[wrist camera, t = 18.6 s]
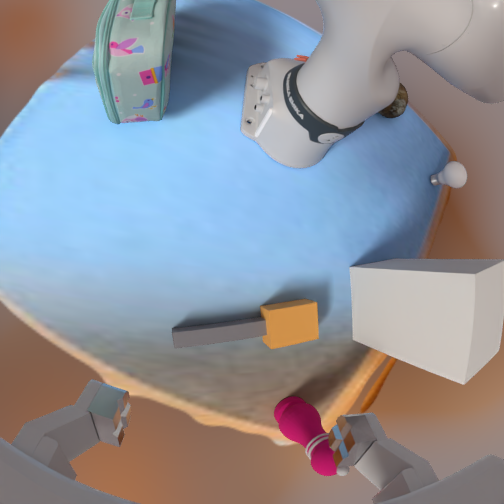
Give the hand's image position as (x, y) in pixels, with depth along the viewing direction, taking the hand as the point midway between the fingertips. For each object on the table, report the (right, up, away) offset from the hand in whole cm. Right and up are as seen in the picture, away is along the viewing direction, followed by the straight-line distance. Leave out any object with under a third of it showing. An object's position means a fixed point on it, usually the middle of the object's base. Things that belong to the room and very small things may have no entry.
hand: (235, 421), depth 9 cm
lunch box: (-19, +38, +29) cm, 52 cm away
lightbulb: (+45, +24, +47) cm, 69 cm away
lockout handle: (-1, -5, +33) cm, 34 cm away
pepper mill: (+7, -23, +36) cm, 43 cm away
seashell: (+31, +41, +43) cm, 67 cm away
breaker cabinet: (+25, -3, +40) cm, 47 cm away
